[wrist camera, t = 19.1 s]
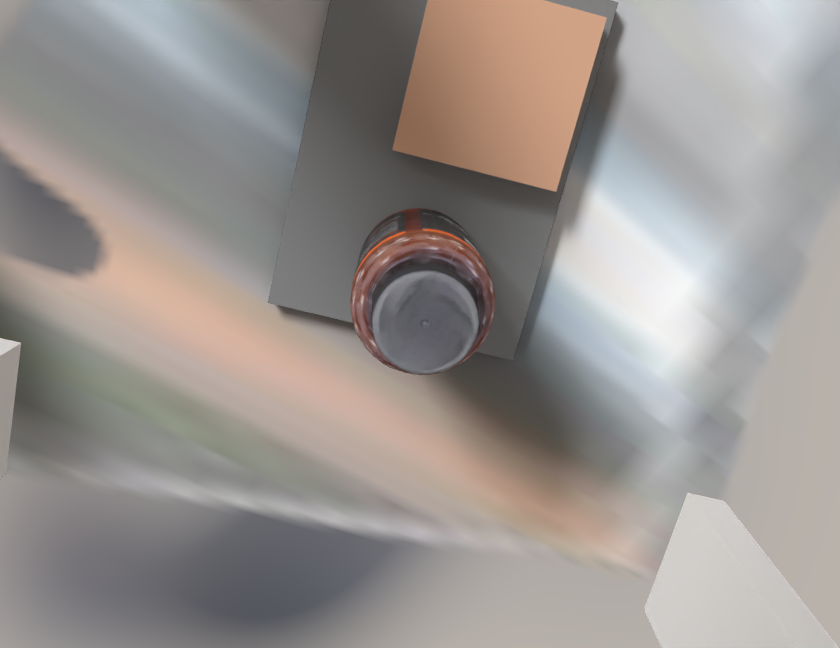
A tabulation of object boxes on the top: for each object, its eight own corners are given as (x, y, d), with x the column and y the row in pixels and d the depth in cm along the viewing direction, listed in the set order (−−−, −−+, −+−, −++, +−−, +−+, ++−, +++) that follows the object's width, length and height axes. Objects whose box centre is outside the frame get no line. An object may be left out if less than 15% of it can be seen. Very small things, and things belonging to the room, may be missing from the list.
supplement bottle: (344, 301, 40) (321, 372, 29) (380, 189, 39) (370, 219, 28) (454, 337, 41) (472, 419, 30) (494, 228, 39) (528, 272, 28)
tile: (434, -30, 35) (606, 17, 35) (433, -25, 36) (599, 21, 37) (392, 149, 37) (556, 191, 37) (393, 148, 38) (550, 188, 39)
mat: (346, -68, 37) (345, -73, 36) (612, 5, 38) (618, 2, 37) (271, 298, 41) (267, 302, 40) (510, 355, 42) (513, 360, 41)
